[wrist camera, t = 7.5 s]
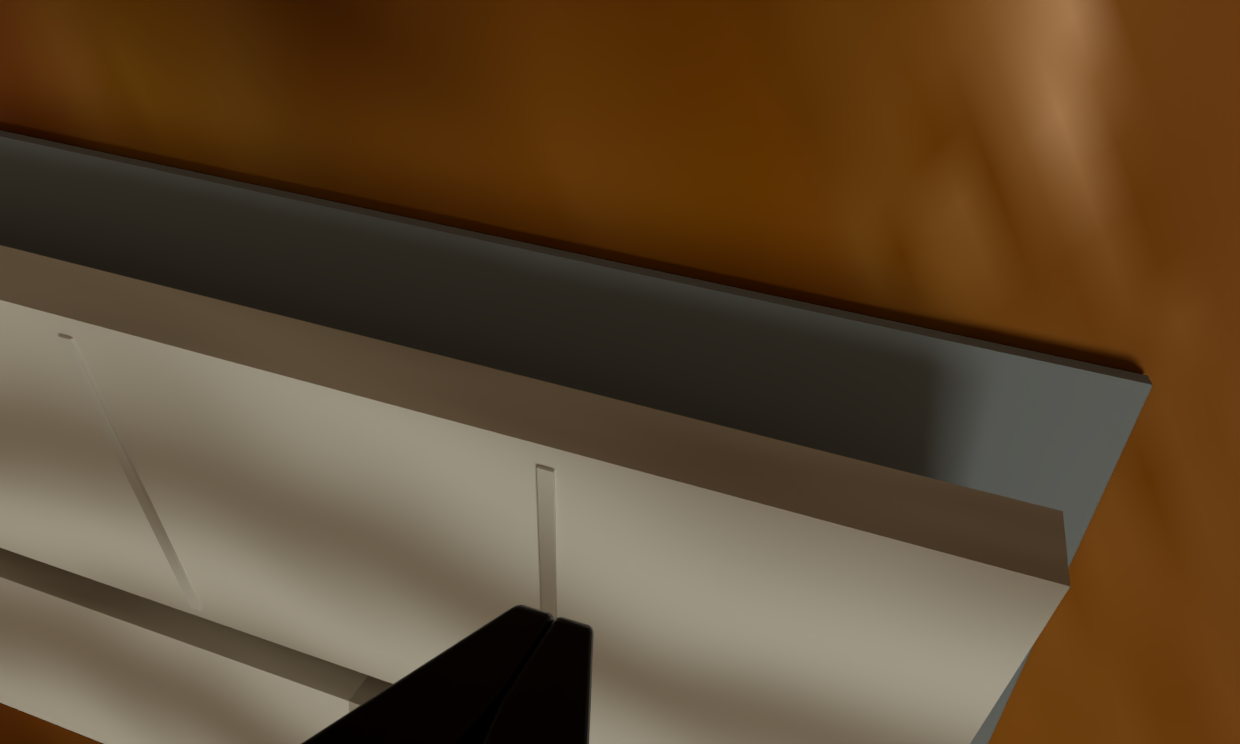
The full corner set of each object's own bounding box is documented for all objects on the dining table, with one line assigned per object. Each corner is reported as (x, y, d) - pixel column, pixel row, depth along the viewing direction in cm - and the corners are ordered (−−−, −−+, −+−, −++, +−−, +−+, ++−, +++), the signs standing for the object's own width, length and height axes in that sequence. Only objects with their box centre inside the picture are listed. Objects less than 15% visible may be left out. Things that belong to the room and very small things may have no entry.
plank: (901, 792, 16) (896, 862, 15) (-25, 486, 21) (-73, 525, 20) (1063, 511, 11) (1070, 591, 10) (-224, 188, 15) (-302, 221, 14)
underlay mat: (876, 973, 19) (875, 987, 18) (38, 657, 24) (28, 664, 23) (1147, 374, 12) (1152, 385, 11) (-123, 103, 17) (-140, 106, 16)
